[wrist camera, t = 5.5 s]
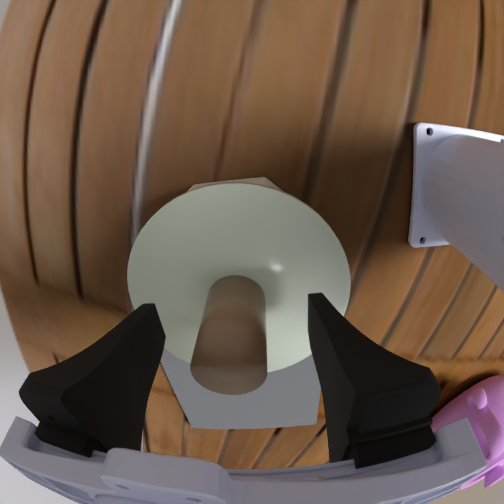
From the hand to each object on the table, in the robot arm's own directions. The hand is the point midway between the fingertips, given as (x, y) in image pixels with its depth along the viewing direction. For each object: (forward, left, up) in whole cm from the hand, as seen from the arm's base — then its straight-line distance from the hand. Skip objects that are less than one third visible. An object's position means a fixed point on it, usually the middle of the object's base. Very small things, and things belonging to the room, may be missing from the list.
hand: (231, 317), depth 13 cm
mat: (+1, +13, -6) cm, 14 cm away
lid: (0, +1, -3) cm, 3 cm away
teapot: (-30, +25, -6) cm, 40 cm away
